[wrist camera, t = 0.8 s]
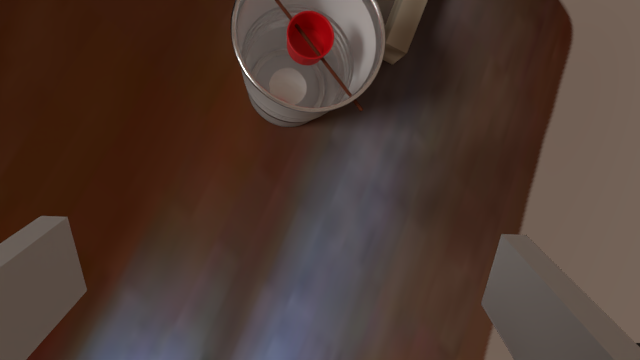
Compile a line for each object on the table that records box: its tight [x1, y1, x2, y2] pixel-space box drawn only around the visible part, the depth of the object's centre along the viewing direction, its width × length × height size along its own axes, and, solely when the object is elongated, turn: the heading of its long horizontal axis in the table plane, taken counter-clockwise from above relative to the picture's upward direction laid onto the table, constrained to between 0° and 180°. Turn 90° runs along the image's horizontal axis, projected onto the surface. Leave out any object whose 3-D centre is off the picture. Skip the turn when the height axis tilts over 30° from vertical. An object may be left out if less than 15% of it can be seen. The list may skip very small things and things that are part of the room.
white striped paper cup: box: [230, 0, 385, 127], centre depth 25 cm, size 10×8×12 cm
